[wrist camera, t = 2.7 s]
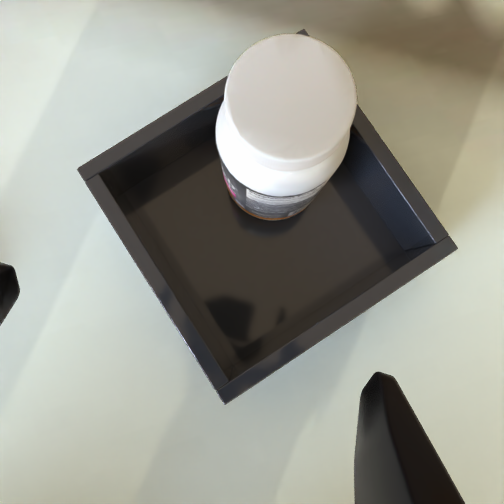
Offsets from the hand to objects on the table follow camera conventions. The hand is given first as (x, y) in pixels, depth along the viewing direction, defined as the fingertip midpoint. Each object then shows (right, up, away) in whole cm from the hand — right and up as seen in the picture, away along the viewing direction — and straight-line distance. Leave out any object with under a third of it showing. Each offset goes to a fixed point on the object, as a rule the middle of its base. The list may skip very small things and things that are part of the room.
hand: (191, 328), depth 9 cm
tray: (+2, +4, +14) cm, 14 cm away
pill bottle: (+3, +6, +14) cm, 16 cm away
